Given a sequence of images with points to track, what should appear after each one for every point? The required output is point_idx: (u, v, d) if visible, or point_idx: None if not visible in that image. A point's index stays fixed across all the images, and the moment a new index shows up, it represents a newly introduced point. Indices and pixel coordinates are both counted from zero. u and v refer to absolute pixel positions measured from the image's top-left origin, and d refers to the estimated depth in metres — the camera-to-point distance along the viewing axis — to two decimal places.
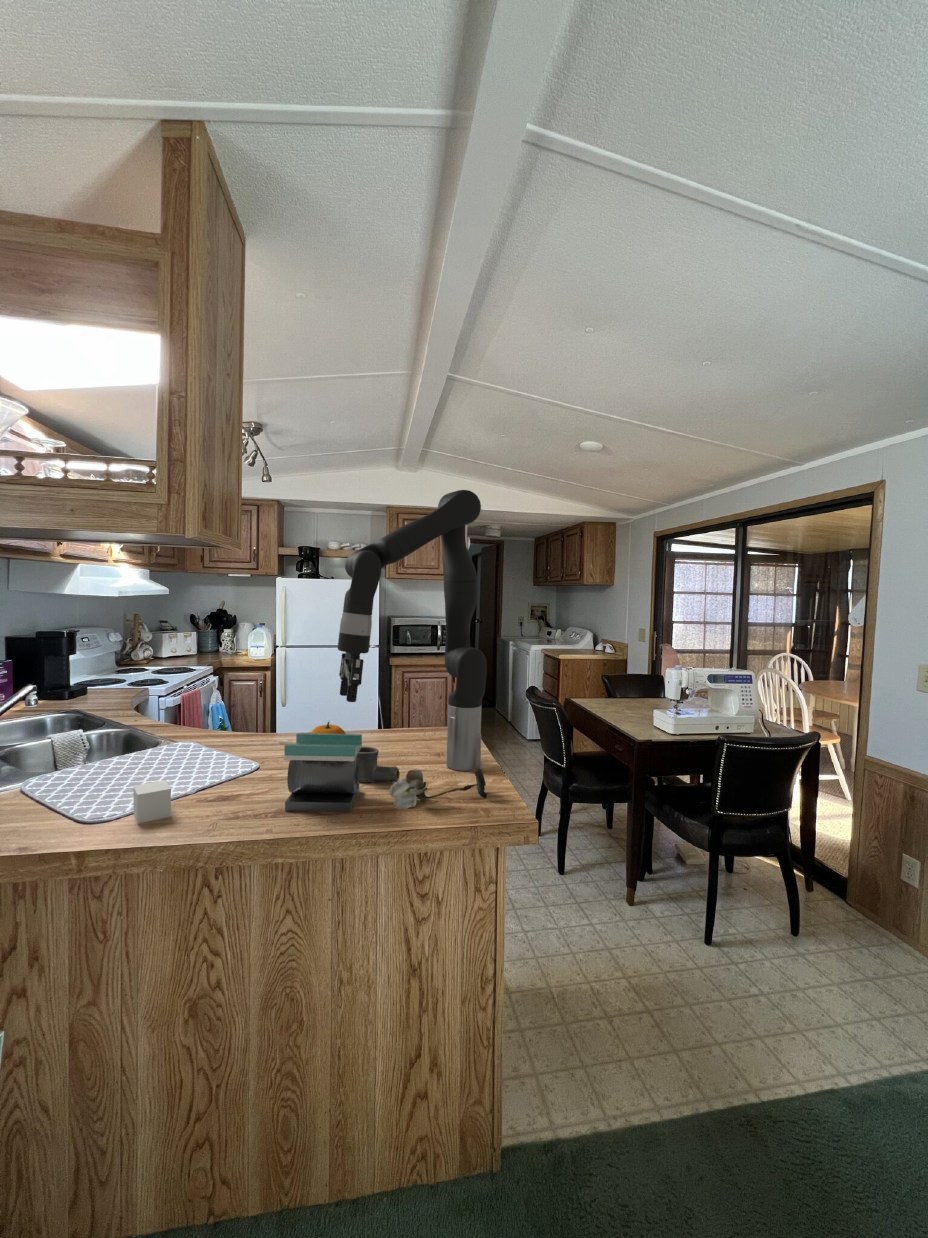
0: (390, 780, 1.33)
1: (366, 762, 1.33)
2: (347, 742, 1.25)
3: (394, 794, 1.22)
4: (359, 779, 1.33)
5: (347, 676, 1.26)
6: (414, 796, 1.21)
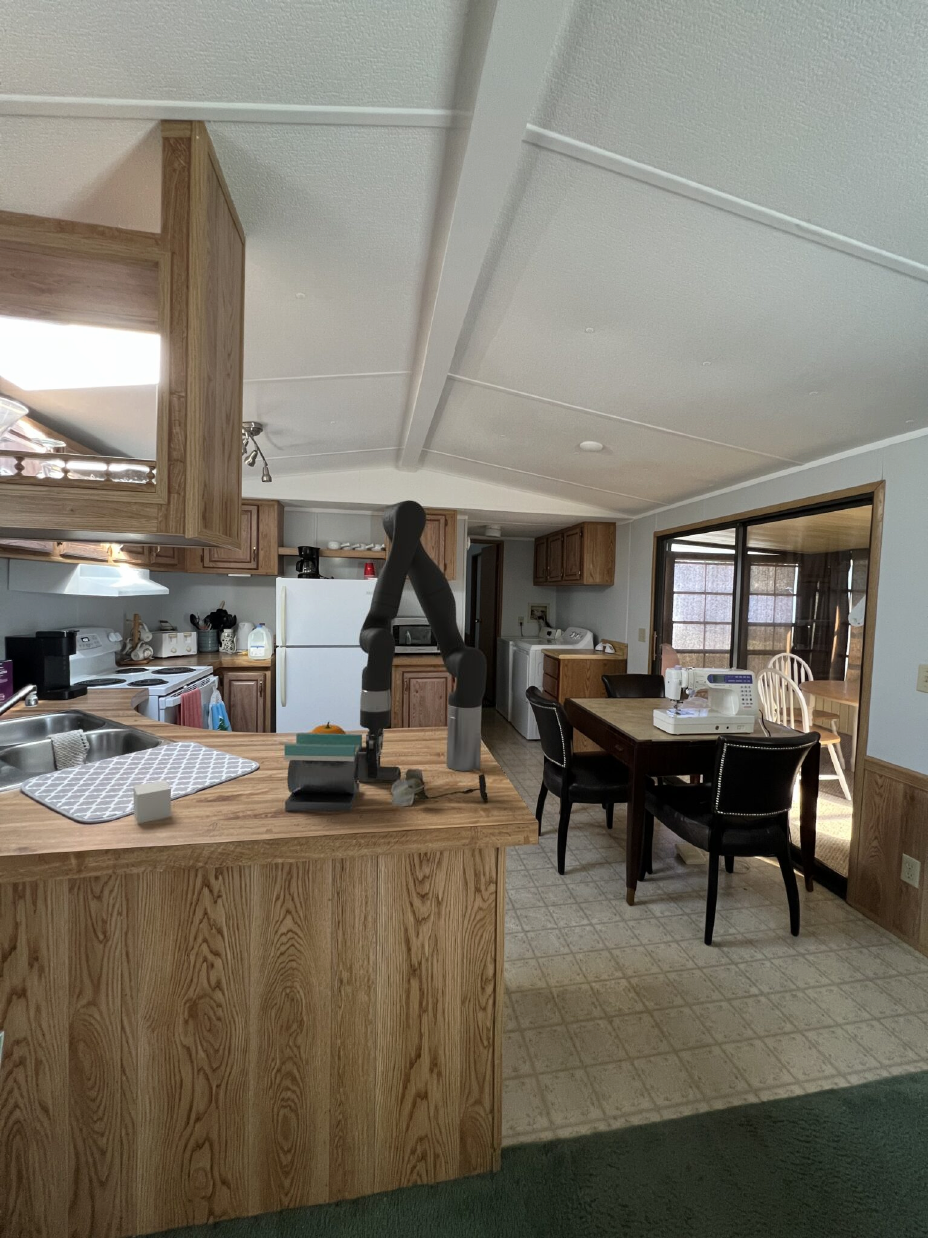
0: (392, 780, 1.33)
1: None
2: (347, 742, 1.25)
3: (394, 791, 1.24)
4: (361, 779, 1.33)
5: None
6: (412, 795, 1.21)
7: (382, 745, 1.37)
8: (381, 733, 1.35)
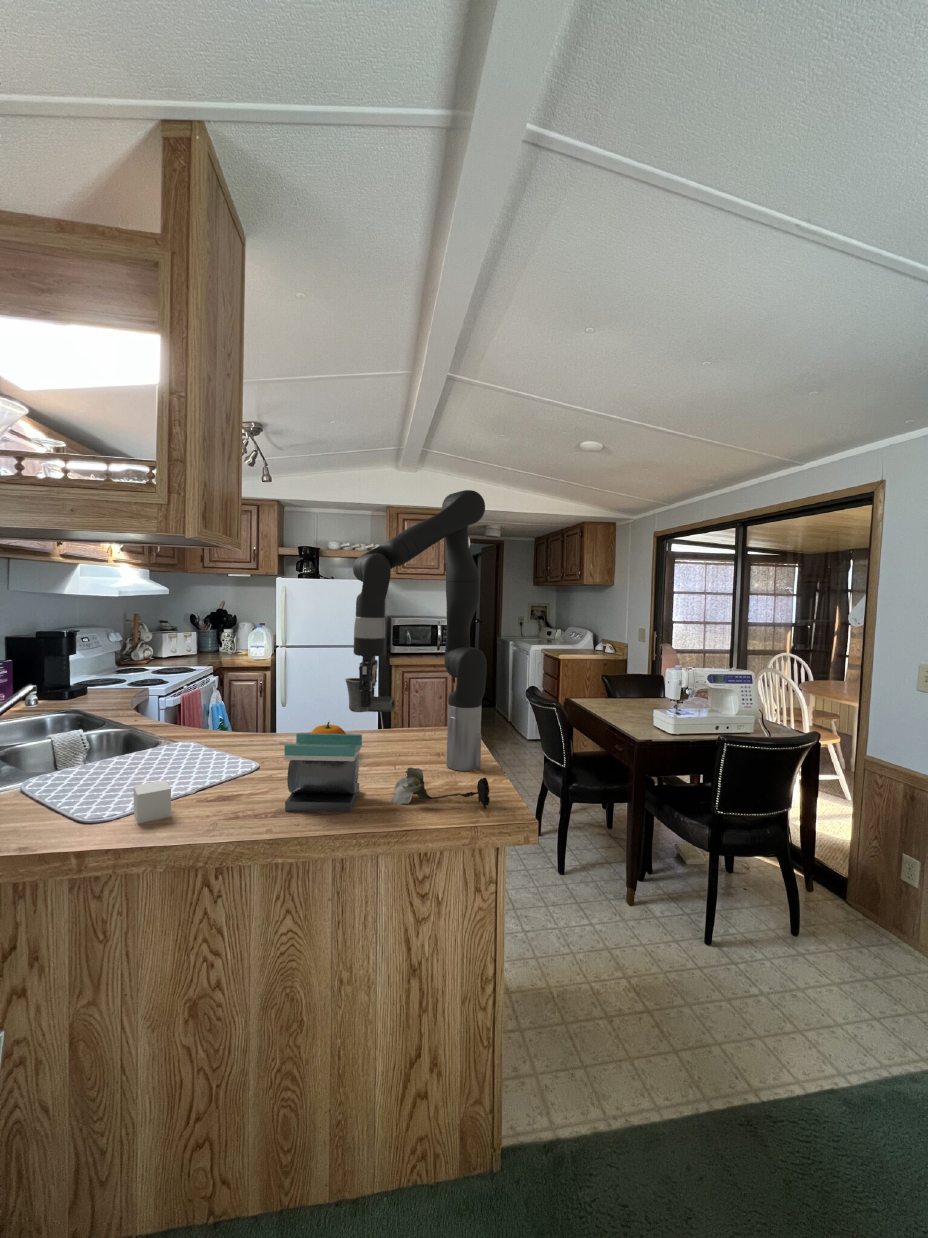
0: (385, 710, 1.30)
1: (361, 691, 1.29)
2: (347, 742, 1.25)
3: (397, 788, 1.26)
4: (354, 709, 1.30)
5: None
6: (411, 793, 1.22)
7: (376, 676, 1.34)
8: (375, 663, 1.32)
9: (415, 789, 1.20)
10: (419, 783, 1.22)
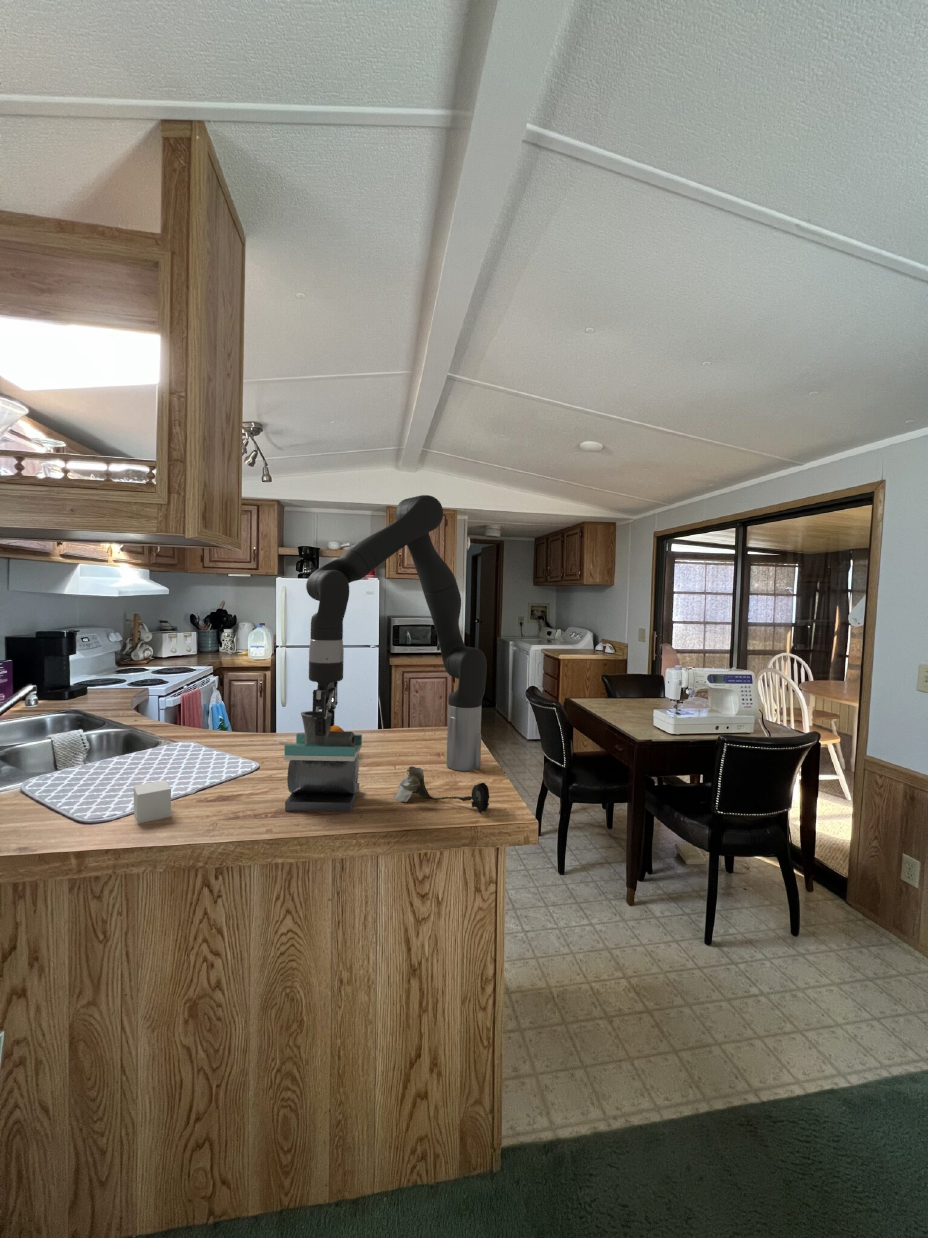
0: None
1: None
2: None
3: (401, 786, 1.27)
4: None
5: None
6: (411, 792, 1.23)
7: (336, 700, 1.24)
8: (333, 689, 1.21)
9: (412, 788, 1.21)
10: (418, 782, 1.22)
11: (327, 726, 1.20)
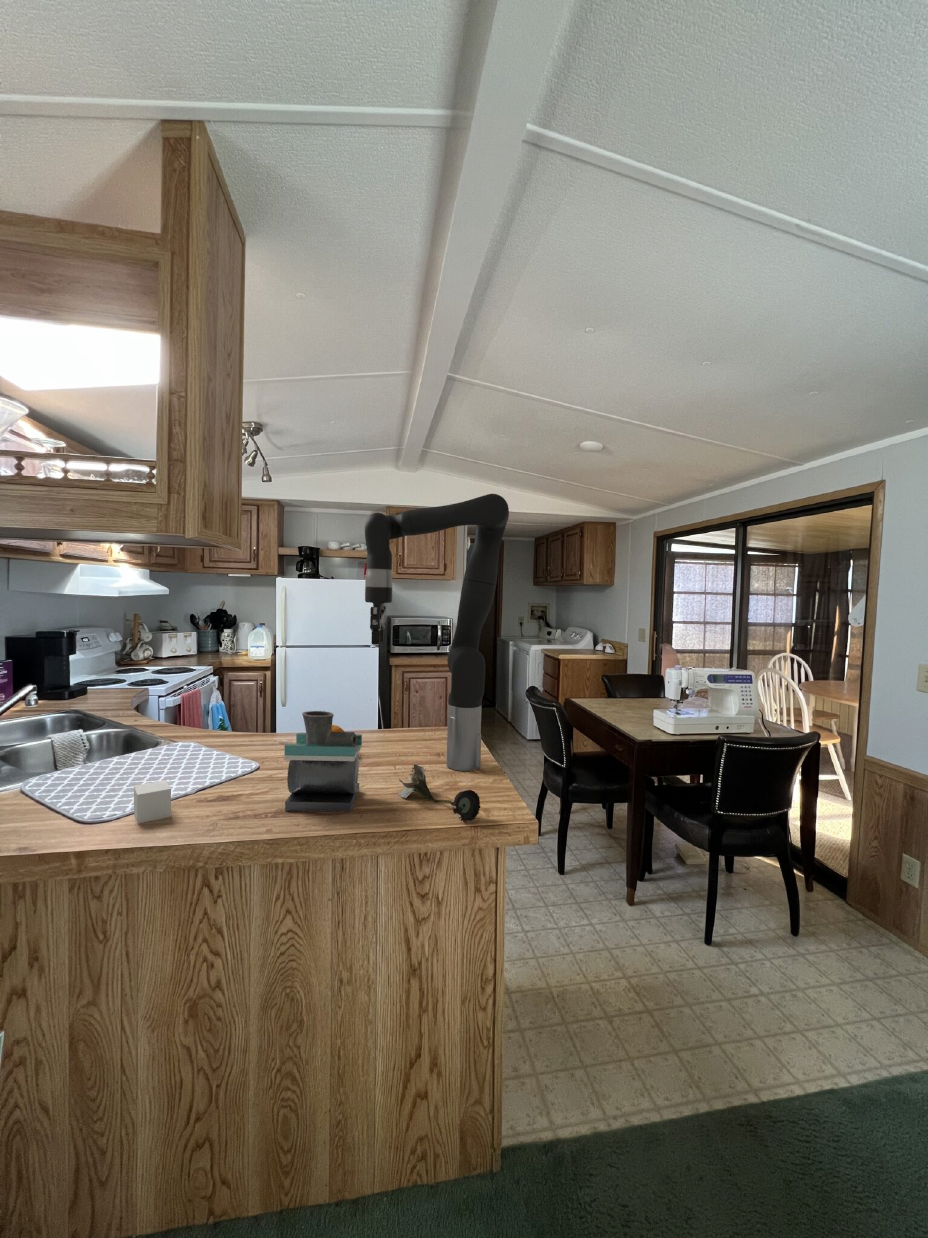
0: None
1: (319, 726, 1.19)
2: None
3: (410, 783, 1.29)
4: None
5: None
6: (412, 790, 1.25)
7: (385, 620, 1.54)
8: None
9: (409, 785, 1.22)
10: (417, 781, 1.23)
11: (328, 726, 1.20)
